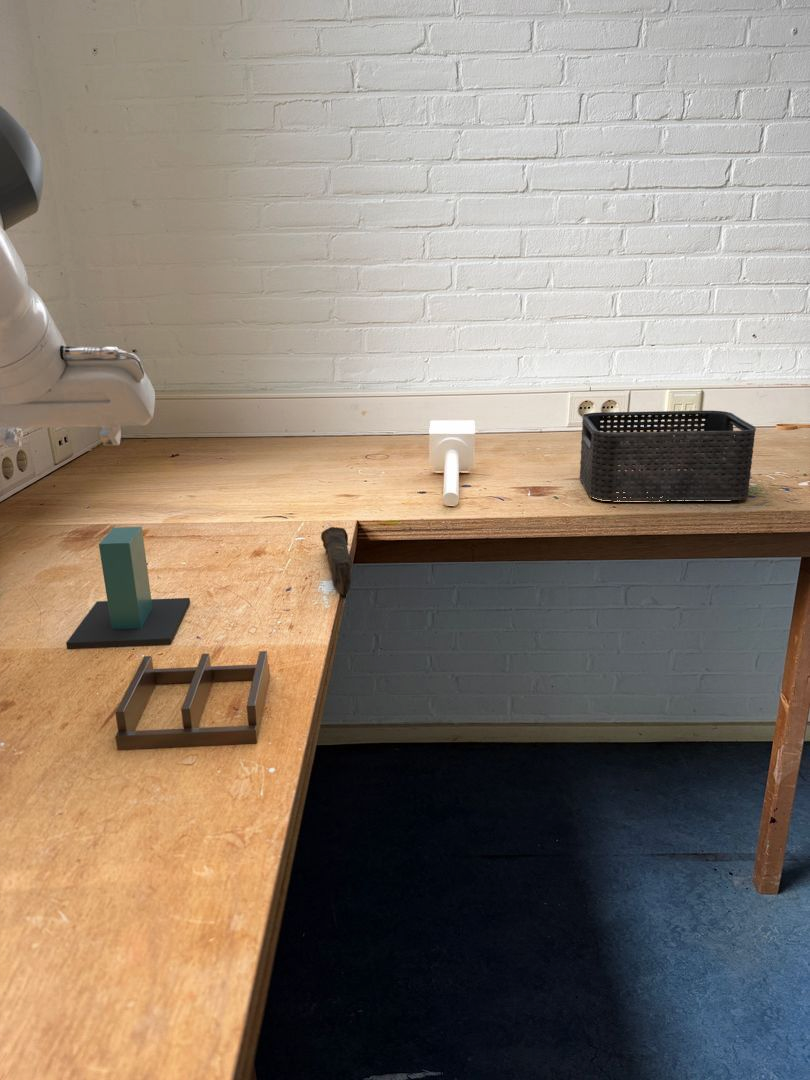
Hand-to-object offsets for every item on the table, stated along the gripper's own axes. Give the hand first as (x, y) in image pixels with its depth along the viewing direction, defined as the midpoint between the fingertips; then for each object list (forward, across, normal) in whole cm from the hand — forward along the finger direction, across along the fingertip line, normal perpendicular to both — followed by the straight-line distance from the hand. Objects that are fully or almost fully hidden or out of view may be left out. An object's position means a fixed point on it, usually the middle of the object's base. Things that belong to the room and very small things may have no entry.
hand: (64, 440), depth 78 cm
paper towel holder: (+70, -47, -33) cm, 91 cm away
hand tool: (+38, -26, -1) cm, 46 cm away
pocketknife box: (+27, 0, +9) cm, 28 cm away
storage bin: (+64, -86, -28) cm, 111 cm away
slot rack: (+12, -12, +24) cm, 30 cm away
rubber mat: (+27, 0, +9) cm, 29 cm away
